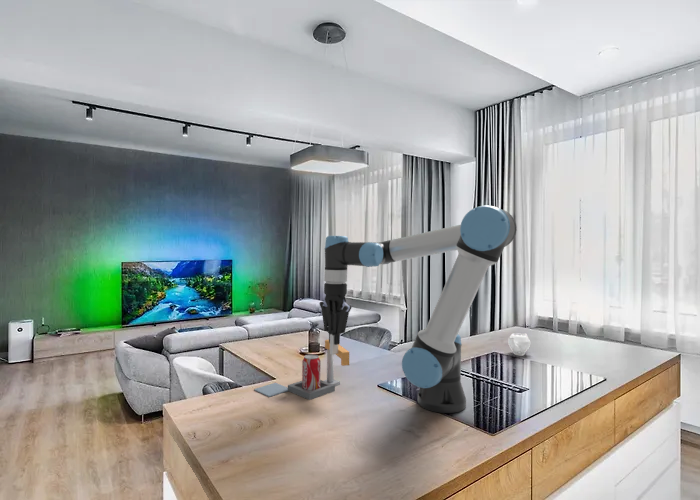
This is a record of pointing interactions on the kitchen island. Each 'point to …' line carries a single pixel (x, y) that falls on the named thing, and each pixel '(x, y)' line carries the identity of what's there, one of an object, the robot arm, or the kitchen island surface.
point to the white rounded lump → (519, 343)
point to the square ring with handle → (325, 385)
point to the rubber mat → (272, 389)
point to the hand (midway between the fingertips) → (333, 353)
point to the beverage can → (311, 372)
